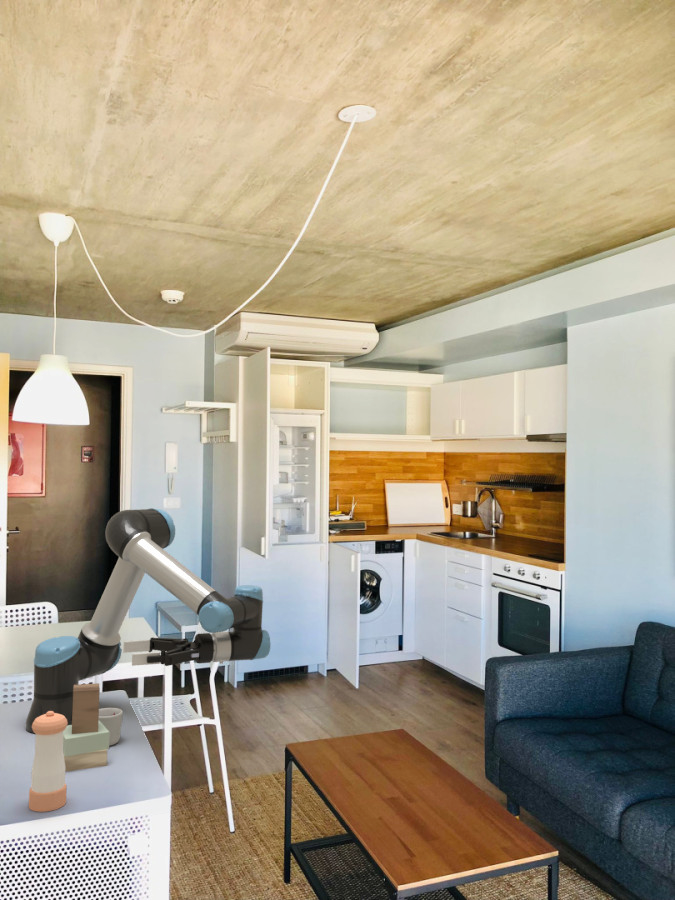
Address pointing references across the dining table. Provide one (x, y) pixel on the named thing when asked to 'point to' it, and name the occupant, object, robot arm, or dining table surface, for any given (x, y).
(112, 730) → the cup
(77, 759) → the tower bottom block
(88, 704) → the walnut block
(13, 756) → the dining table surface
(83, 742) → the tower top block
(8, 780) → the dining table surface
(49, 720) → the pepper shaker
